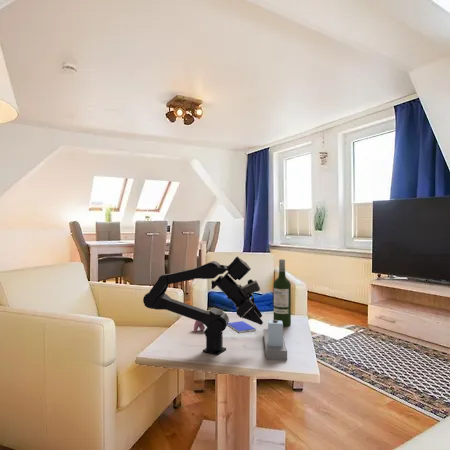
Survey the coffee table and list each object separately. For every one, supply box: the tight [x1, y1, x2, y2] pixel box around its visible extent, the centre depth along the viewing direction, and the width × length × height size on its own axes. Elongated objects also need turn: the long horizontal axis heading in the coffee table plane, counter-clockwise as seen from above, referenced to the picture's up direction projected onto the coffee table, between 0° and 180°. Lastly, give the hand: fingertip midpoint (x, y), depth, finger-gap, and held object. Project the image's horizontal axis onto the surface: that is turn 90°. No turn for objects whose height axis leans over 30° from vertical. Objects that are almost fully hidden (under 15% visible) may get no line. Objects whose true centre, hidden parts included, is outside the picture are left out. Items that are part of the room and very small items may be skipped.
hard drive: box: [227, 320, 257, 334], centre depth 150 cm, size 2×8×12 cm
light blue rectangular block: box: [267, 319, 284, 347], centre depth 120 cm, size 4×5×11 cm
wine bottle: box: [272, 258, 292, 328], centre depth 155 cm, size 8×8×30 cm
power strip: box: [263, 328, 288, 361], centre depth 129 cm, size 31×7×4 cm, turn 176°
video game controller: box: [193, 320, 206, 333], centre depth 146 cm, size 10×5×7 cm, turn 85°
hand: (261, 320), depth 120 cm, fingers open, 9 cm apart
